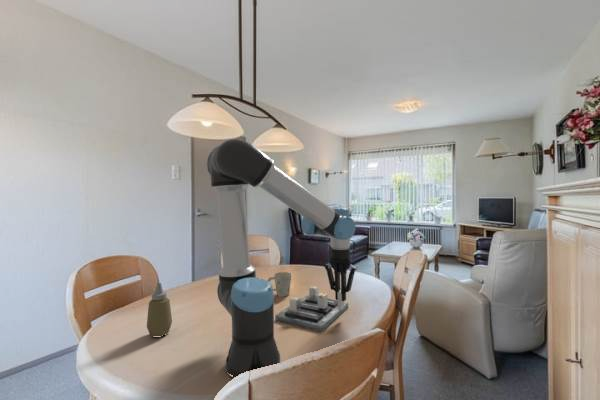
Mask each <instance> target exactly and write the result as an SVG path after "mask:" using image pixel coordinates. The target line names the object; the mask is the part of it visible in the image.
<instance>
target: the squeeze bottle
mask: <svg viewBox="0 0 600 400" xmlns="http://www.w3.org/2000/svg"><path fill="white" fill-rule="evenodd" d="M167 296H168V294H167V292H166V291H164V290H163V285H162V283H161V282H157V283H156V287H155V292H153V293H152V294H151V299H150V301H149V302H148V308H147V309H148V310H147V319H146V329H147V331H148V334H149V336H150V335H151V336H162V335H165V334H167V333H168V332H169V333H170V329H171V327H172V323H173V317H172V309H171V302H170V301H171V300H170V298H169V297H167ZM169 333H168V334H169ZM168 334H167V335H168ZM151 336H150V337H151ZM165 336H166V335H165Z"/></svg>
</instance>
